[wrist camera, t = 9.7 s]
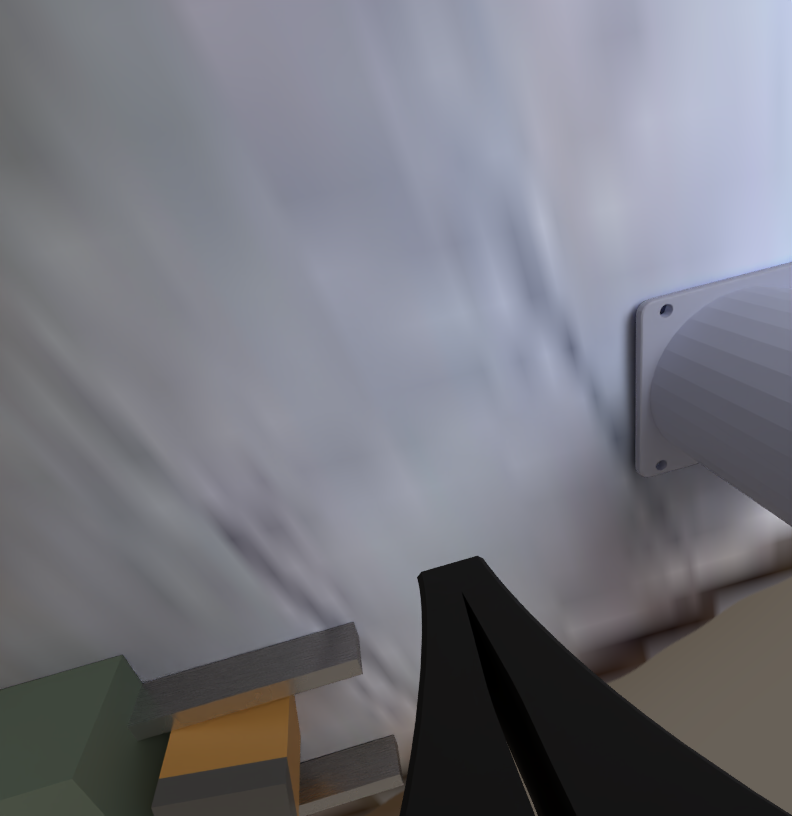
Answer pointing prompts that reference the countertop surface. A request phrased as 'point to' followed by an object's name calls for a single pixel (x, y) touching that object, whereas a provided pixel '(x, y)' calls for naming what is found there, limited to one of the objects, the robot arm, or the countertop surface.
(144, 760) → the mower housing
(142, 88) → the countertop surface
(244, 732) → the orange-topped grey cube
